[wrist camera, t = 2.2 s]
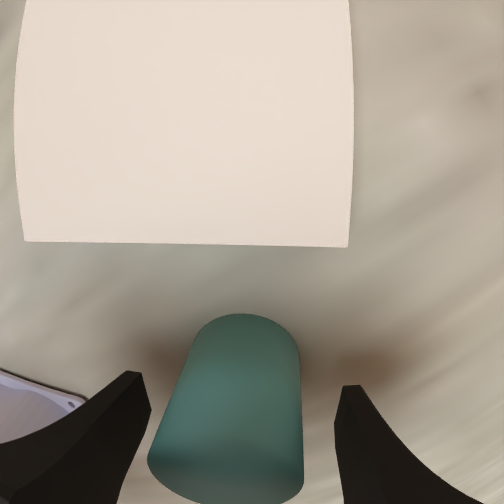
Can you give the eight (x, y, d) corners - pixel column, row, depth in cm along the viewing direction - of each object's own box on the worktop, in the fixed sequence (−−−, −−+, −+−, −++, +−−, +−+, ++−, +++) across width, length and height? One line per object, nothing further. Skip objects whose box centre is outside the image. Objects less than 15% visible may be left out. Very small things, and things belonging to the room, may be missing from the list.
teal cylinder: (197, 392, 14) (164, 499, 8) (187, 310, 12) (130, 422, 7) (295, 398, 14) (295, 512, 8) (302, 315, 12) (313, 440, 6)
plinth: (71, 219, 12) (25, 241, 9) (75, -8, 8) (33, -30, 6) (330, 219, 11) (347, 247, 8) (325, -43, 8) (335, -87, 5)
